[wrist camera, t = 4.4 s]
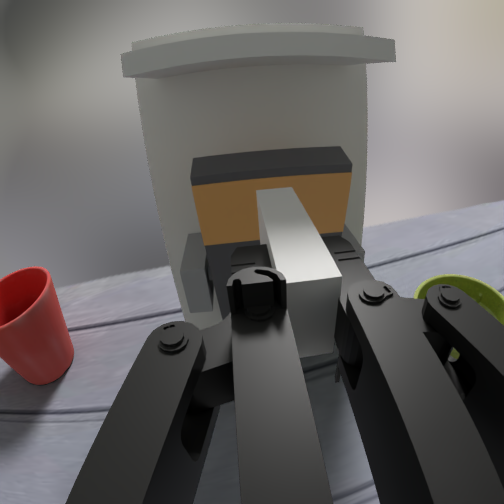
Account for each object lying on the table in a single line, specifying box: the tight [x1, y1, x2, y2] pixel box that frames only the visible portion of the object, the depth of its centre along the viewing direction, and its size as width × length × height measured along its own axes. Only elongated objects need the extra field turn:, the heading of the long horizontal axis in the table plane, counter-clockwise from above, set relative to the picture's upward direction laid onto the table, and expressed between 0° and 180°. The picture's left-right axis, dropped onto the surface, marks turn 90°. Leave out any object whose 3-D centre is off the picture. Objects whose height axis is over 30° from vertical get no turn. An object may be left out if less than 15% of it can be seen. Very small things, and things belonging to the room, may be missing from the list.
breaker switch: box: [190, 146, 353, 320], centre depth 21 cm, size 9×2×16 cm, turn 94°
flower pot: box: [0, 267, 74, 385], centre depth 27 cm, size 11×11×10 cm
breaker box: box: [121, 23, 396, 330], centre depth 23 cm, size 16×13×28 cm
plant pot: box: [414, 274, 504, 359], centre depth 22 cm, size 9×9×9 cm
